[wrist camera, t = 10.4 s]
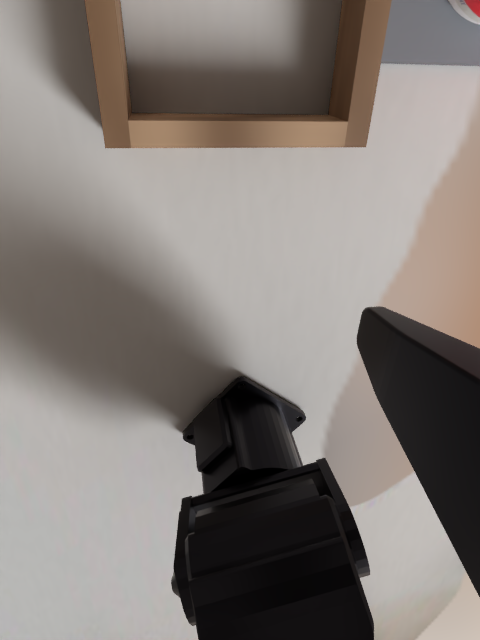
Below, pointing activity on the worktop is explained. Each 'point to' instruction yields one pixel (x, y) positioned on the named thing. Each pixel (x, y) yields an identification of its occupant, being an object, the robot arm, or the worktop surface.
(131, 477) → the worktop surface
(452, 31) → the mat
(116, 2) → the rack
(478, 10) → the pill bottle
